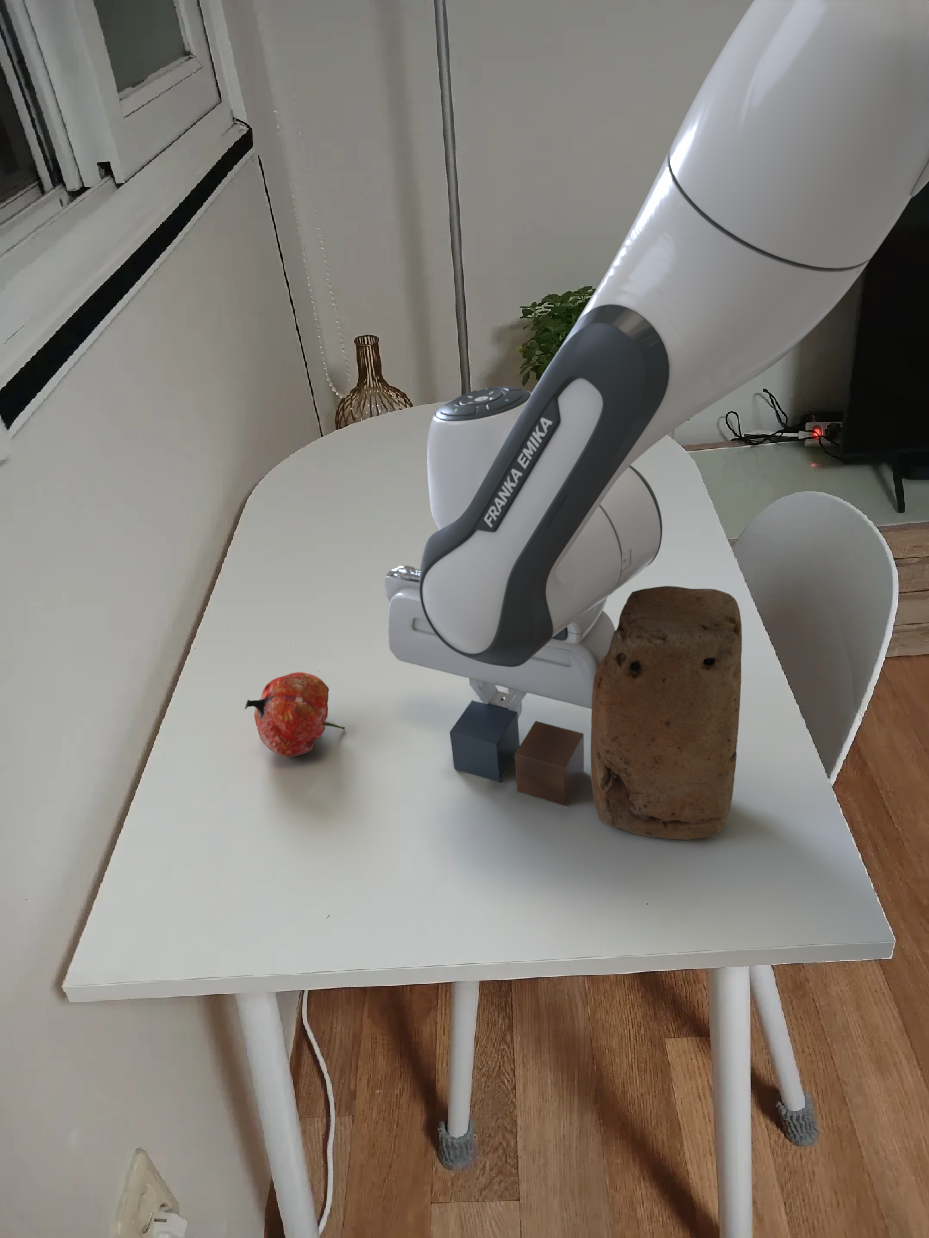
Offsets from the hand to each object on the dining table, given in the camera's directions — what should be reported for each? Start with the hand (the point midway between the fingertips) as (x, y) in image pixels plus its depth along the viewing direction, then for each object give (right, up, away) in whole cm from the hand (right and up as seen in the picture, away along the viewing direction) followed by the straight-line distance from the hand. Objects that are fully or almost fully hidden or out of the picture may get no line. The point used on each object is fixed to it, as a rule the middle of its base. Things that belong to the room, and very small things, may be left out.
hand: (503, 714), depth 84 cm
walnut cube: (+4, -5, -3) cm, 7 cm away
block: (+12, -7, -7) cm, 16 cm away
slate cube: (-1, -4, 0) cm, 4 cm away
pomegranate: (-18, -3, +4) cm, 19 cm away
